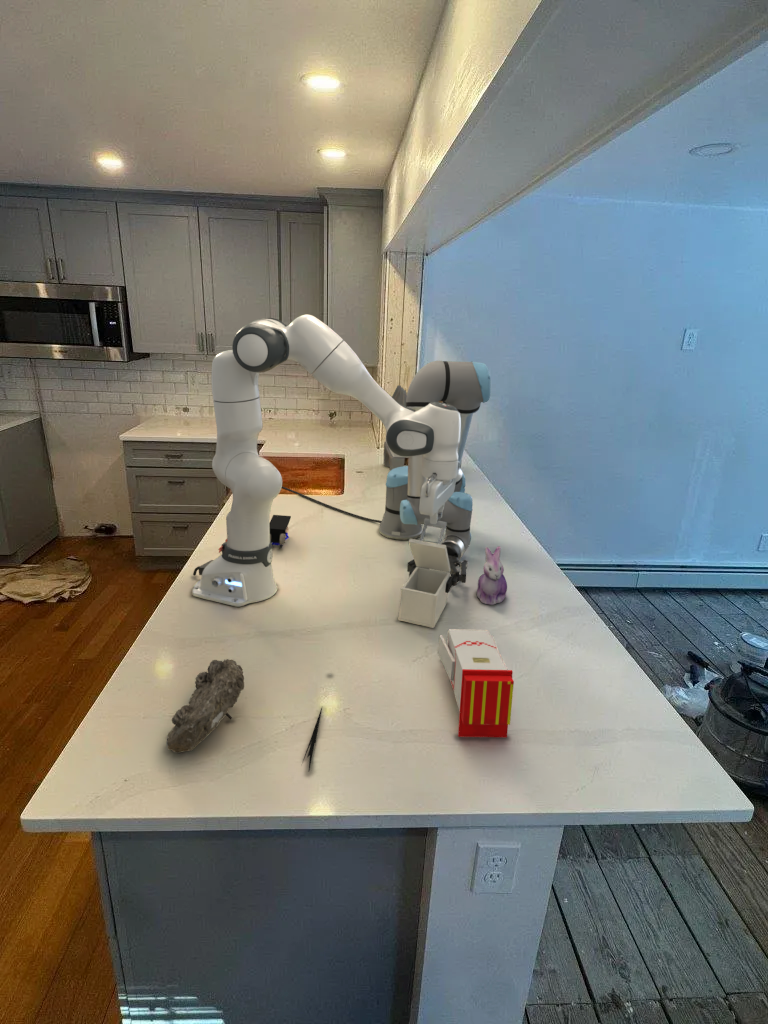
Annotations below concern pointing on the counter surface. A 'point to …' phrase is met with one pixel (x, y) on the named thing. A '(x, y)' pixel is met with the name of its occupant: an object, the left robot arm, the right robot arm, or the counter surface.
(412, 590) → the chest
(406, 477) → the right robot arm
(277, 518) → the figurine character
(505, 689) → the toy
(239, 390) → the left robot arm
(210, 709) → the fossil
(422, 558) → the lid
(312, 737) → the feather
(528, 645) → the counter surface
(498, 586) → the figurine
